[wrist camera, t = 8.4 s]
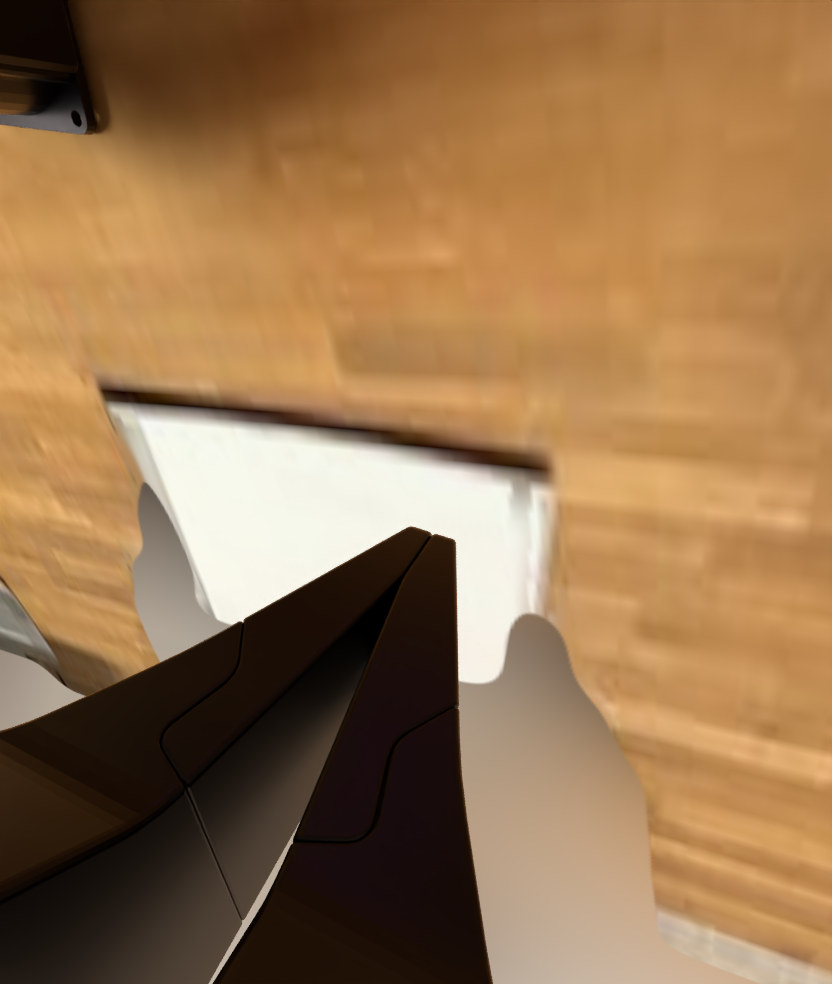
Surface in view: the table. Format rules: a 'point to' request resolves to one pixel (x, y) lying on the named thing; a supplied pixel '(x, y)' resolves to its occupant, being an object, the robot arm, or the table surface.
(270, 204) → the table surface
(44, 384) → the table surface
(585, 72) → the table surface
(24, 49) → the robot arm
